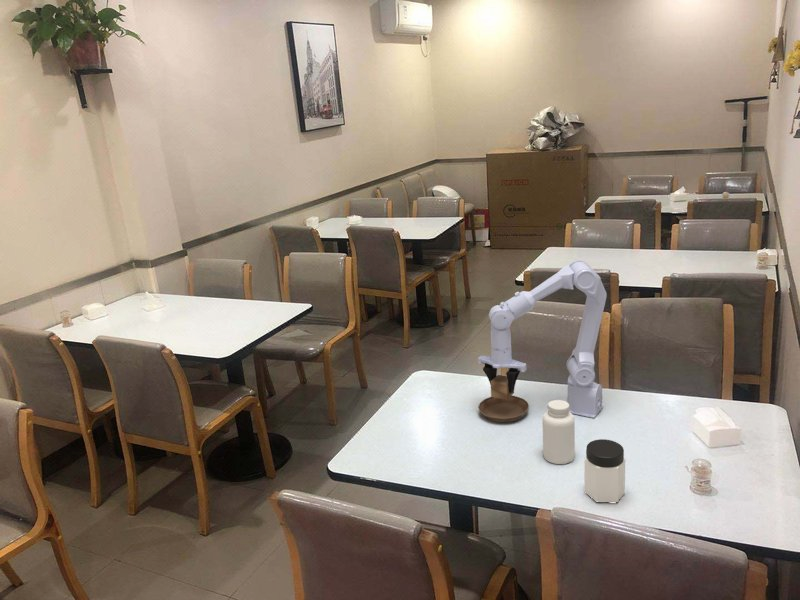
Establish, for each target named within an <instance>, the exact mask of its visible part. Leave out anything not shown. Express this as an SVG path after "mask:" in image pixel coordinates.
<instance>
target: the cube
mask: <svg viewBox="0 0 800 600" xmlns="http://www.w3.org/2000/svg"><path fill="white" fill-rule="evenodd" d="M490 382H491V385H490V397H494V398H499V399H504V400H508V399H509V398H510V397H511V396H514V394H515V390H514V391H513V392H512V393H509V389H508V378H507V375H501V374H497V376H496V377H495V378H494V379H493V380H492V381H490ZM490 382H489V383H490Z"/></svg>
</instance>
